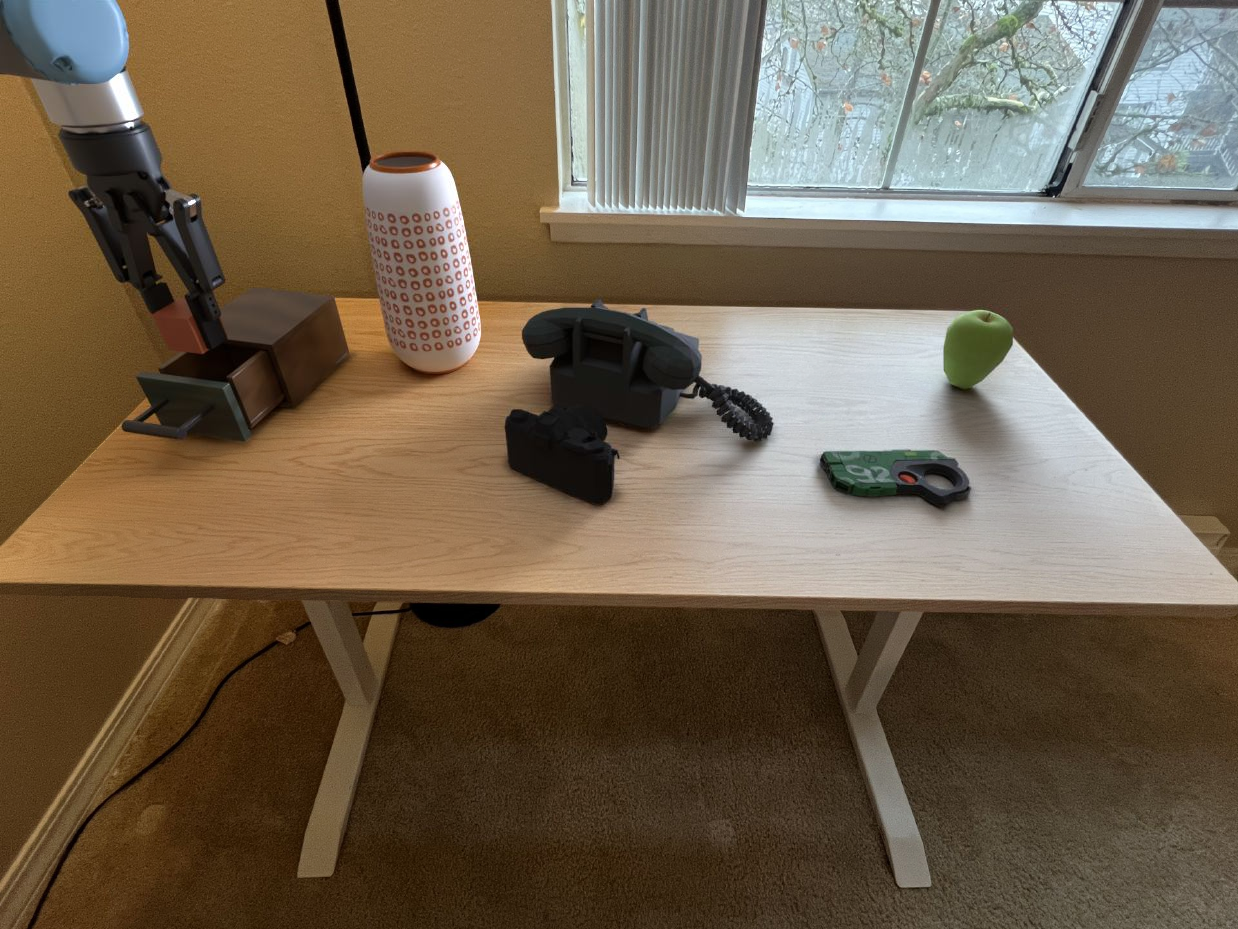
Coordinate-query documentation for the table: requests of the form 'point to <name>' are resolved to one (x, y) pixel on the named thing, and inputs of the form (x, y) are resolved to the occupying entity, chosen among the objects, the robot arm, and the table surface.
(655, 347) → the rotary telephone
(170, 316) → the block
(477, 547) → the table surface
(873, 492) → the gun
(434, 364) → the white patterned cylinder
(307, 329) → the cabinet
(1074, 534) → the table surface
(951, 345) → the apple
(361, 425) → the table surface
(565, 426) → the film camera
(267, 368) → the drawer
